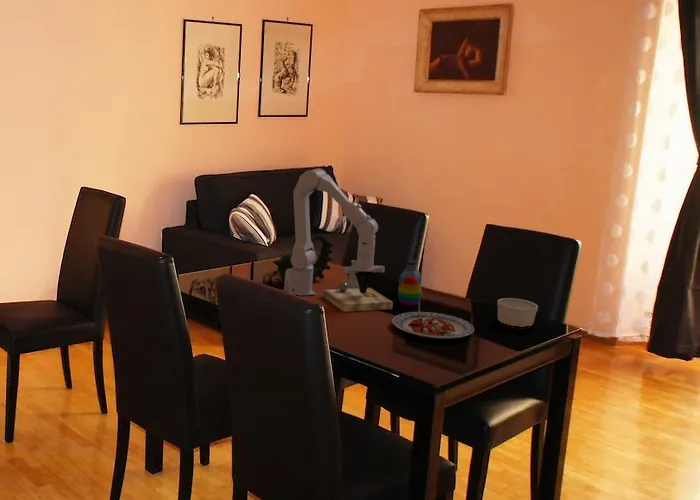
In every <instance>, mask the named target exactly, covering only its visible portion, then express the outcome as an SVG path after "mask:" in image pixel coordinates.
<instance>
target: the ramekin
mask: <svg viewBox="0 0 700 500" xmlns="http://www.w3.org/2000/svg"><path fill="white" fill-rule="evenodd" d="M496 302H497V304H496V305H497V320H498V322H499V321H500V322H501V323H504V324H507V325H511V326H519V327H525V326H530V327H531V326H533V324H534V323H535V322H534V321H535V318H536V316H537V315H536V314H537V312H538V309H539V306H538V304H536V303H534V302H533V301H529V300H526V299H522V298H515V297H514V298H513V297H507V298H500V299H498V300H497V301H496ZM500 322H499V323H500ZM501 323H500V324H501Z"/></svg>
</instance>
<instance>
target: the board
mask: <svg viewBox="0 0 700 500" xmlns="http://www.w3.org/2000/svg"><path fill="white" fill-rule="evenodd" d="M366 294H371V295H372V296H373V297H365V295H366ZM322 297H323V298H325V299H326V300H327V301H329V303H332V304H333V305H334V306H336V307H337V308H338V309H339V310H341V312H343V313H344V312H360V311H362V312H363V311H381V310H382V311H383V310H392V309H393V306H394V305H393V304H394V302H393V301H392V300H390V299H389V298H387V297H386V296H384V295H382V294H381V293H379V292H378V291H377V290H375V289H373V288H372V287H367V290H366V293H363V294H362V293H360V290H359V288H354V289H347V290H346V291H344V292H343V291H340V289H339V288H334V289H323V296H322Z"/></svg>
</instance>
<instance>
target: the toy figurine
mask: <svg viewBox="0 0 700 500" xmlns="http://www.w3.org/2000/svg"><path fill="white" fill-rule="evenodd" d="M317 240H319V241H320V242H321V243H322V245H321V247H320V251H319V252H320V253H319V254H318V256H317V259H316V261H315V262H314V263H313V281H312V284H314V283H315V282H316V281H317V280H316V278H319V279H320V280H322V279H324V278H325V275H324V271H325V270H327V271H329V270H331V266H330V265H328V263H329V262H331V261H332V260H333V259H332V257H330V254H332V253H333V252H334V251H333V249H331V247H333V246H334V243H332V242H331V240H329V239H327V237H326V235H324V234H320V233H319V234H317V235H315V236H314V237H313V238H312V241H313V242H315V241H317ZM292 254H293V253H286V254H284V255H282V256H281V257H280V258H279V259H277V260H273V261H272V263H273V264H274V265H275V266H277V273H278V274H279V275H280V276H281V278H280V282H282V284H285V272H286V270H287V269H291V268H293V265H292V264H291V257H292Z"/></svg>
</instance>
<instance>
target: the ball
mask: <svg viewBox="0 0 700 500" xmlns="http://www.w3.org/2000/svg"><path fill="white" fill-rule="evenodd" d="M338 289H340V291H343V292H344V291H346V290H347V289H348V285H347V284H346V283H345V282H343V281H342V282H340V283H339V285H338Z"/></svg>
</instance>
